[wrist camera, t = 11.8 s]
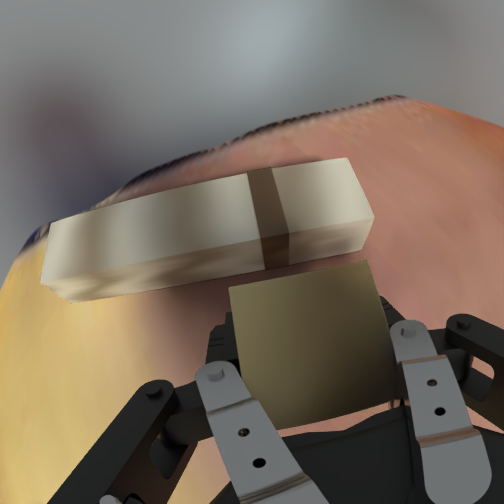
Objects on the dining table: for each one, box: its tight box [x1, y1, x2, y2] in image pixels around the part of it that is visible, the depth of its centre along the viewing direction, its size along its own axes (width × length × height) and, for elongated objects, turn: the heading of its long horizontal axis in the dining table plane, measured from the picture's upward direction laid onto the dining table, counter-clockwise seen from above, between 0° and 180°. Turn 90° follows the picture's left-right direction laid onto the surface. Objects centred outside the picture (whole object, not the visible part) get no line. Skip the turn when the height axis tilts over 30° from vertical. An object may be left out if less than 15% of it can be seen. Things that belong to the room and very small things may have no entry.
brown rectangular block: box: [228, 260, 396, 430], centre depth 12 cm, size 4×4×9 cm
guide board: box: [40, 158, 375, 303], centre depth 20 cm, size 22×5×4 cm, turn 99°
